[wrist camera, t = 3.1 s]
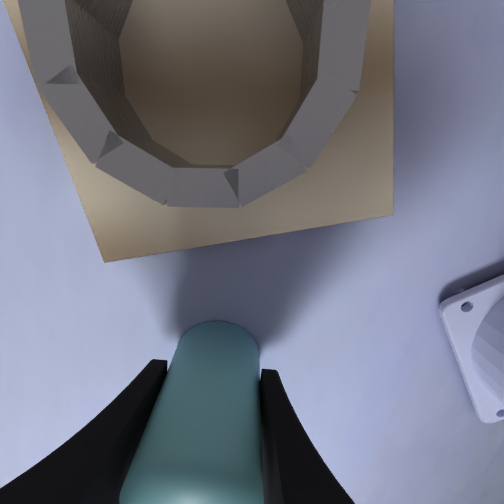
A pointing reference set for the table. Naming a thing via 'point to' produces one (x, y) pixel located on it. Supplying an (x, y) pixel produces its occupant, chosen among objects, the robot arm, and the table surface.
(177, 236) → the dock plate
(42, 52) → the socket collar
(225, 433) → the teal cylinder
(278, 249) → the table surface
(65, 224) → the table surface
